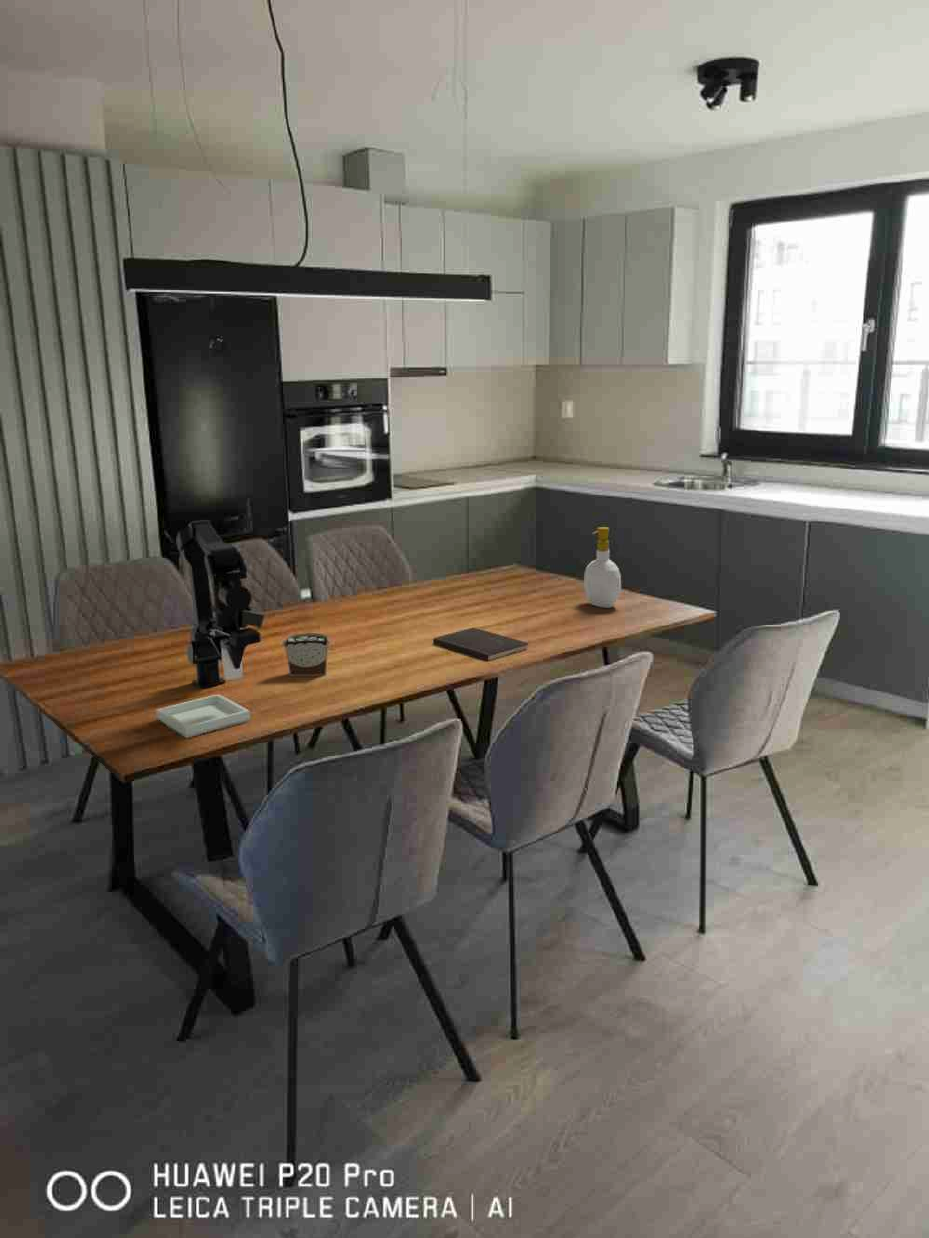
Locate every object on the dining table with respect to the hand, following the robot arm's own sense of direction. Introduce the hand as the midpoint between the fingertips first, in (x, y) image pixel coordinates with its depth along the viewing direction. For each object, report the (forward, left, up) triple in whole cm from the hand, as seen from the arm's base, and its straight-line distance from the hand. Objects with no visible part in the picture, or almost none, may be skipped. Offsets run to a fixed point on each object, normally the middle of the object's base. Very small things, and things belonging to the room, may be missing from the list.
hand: (232, 666), depth 226 cm
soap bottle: (-7, +136, -11) cm, 136 cm away
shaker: (0, 0, -2) cm, 3 cm away
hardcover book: (0, +77, -12) cm, 78 cm away
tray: (0, -8, -11) cm, 14 cm away
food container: (-14, +29, -11) cm, 34 cm away
